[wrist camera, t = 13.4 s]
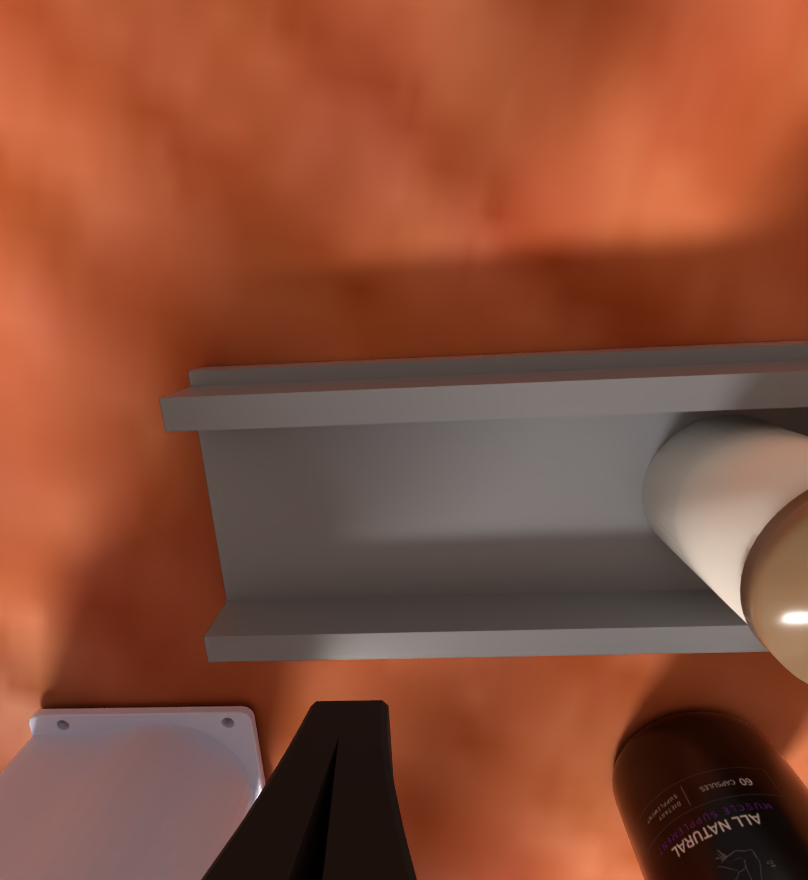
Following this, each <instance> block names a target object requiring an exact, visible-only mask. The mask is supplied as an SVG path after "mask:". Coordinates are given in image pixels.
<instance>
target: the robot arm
mask: <svg viewBox="0 0 808 880" xmlns="http://www.w3.org/2000/svg"><path fill="white" fill-rule="evenodd" d="M228 718H230V719H232V720H229V719H228ZM29 726H30V729H31V732H32V735H33V737H32V738H31V739H30V740H29V741H28V742H27V744H26V745H25V746H24V747H23V748H22V749H21V750H20V751H19V753H18V754H17V755H16V756H15V757H14V758H13V759H12V760H11V762H10V763H9V764H8V765H7V766H6V767H5V768H4V769H3V771H2V772H1V773H0V880H417V879H416V875H415V871H414V867H413V864H412V860H411V856H410V853H409V849H408V845H407V841H406V837H405V833H404V828H403V824H402V819H401V814H400V810H399V805H398V800H397V796H396V791H395V786H394V780H393V765H392V751H391V736H390V722H389V707H388V705H387V704H386V703H385V702H383V701H382V700H372V701H316V702H315V703H314V704H313V705H312V706H311V707H310V709H309V711H308V713H307V715H306V717H305V718H304V720H303V722H302V724H301V726H300V728H299V729H298V731H297V733H296V735H295V736H294V738H293V740H292V742H291V743H290V745H289V747H288V749H287V750H286V752H285V754H284V755H283V757H282V759H281V760H280V762H279V764H278V765H277V767H276V769H275V770H274V772H273V774H272V775H271V777H270V778H269V780H268V781H267V783H266V784H265V778H264V771H263V765H262V759H261V753H260V747H259V740H258V734H257V728H256V722H255V716H254V713H253V711H252V710H251V709H250V708H247V707H245V706H212V707H145V708H78V709H41V710H38V711H37V712H35V713H34V715H33V716H32V717H31V718H30V720H29Z"/></svg>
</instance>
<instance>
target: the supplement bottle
mask: <svg viewBox="0 0 808 880" xmlns="http://www.w3.org/2000/svg"><path fill="white" fill-rule="evenodd" d="M613 792H614V796H615V800H616V803H617V806H618V809H619V812H620V814H621V817H622V820H623V823H624V826H625V828H626V831H627V834H628V837H629V839H630V842H631V845H632V847H633V850H634V853H635V855H636V858H637V861H638V863H639V866H640V869H641V871H642V874H643V877H644V879H645V880H808V788H807V787H806V786H805V785H804V783H803V782H802V781H801V779H800V778H799V777H798V775H797V774H796V773H795V772H794V770H793V769H792V768H791V766H790V765H789V764H788V763H787V762H786V760H785V759H784V758H783V757H782V755H781V754H780V753H779V752H778V750H777V749H776V748H775V747H774V745H773V744H772V743H771V742H770V741H769V740H768V739H767V738H766V737H765V736H764V735H763V734H762V733H761V732H760V731H758V730H757V729H755V728H754V727H753V726H751V725H749V724H747V723H746V722H744V721H741V720H739V719H737V718H734V717H731V716H728V715H724V714H720V713H714V712H685V713H679V714H674V715H670V716H667V717H664V718H662V719H659V720H657V721H655V722H653V723H651V724H649V725H647V726H646V727H644V728H643V729H641V730H640V731H638V732H637V733H636V734H635V735H634V736H633V737H632V738H631V739H630V740H629V741H628V742H627V743H626V745H625V746H624V747H623V749H622V750H621V752H620V754H619V756H618V758H617V760H616V763H615V766H614V771H613Z"/></svg>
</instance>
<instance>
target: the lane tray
mask: <svg viewBox="0 0 808 880" xmlns="http://www.w3.org/2000/svg"><path fill="white" fill-rule="evenodd" d="M188 374H189V380H190V386H191V387H188V388H185V389H183V390H180V391H177V392H174V393H172V394H169V395H166V396H164V397H161V398H159V401H160V406H161V412H162V417H163V422H164V428H165V432H179V431H198V434H199V439H200V445H201V451H202V457H203V463H204V469H205V475H206V481H207V487H208V493H209V499H210V505H211V511H212V517H213V523H214V529H215V535H216V541H217V547H218V553H219V559H220V565H221V570H222V576H223V582H224V588H225V594H226V600H227V601H226V603H225V604H224V606H223V607H222V609H221V611H220V612H219V614H218V615H217V617H216V618H215V620H214V621H213V623H212V625H211V626H210V628H209V629H208V631H207V632H206V634H205V635H204V642H205V647H206V652H207V658H208V662H247V661H301V660H354V659H407V658H460V657H513V656H566V655H619V654H672V653H725V652H769V651H768V650H767V649H766V648H765V647H764V646H763V645H762V644H761V643H760V642H759V641H758V639H757V638H756V637H755V636H754V635H753V633H752V631H751V630H750V628H749V626H748V625H747V623H746V622H745V621H744V620H743V619H742V618H741V617H740V616H739V615H738V614H737V613H736V612H735V611H733V610H732V609H731V608H730V607H729V606H728V605H727V604H726V603H725V602H724V601H723V600H722V599H721V598H720V597H719V596H718V595H717V594H716V593H715V592H714V591H713V590H712V589H711V588H710V587H709V586H708V585H707V584H706V583H705V582H704V581H703V580H702V579H701V578H700V577H699V576H698V575H697V574H696V573H695V572H694V571H693V570H692V569H691V568H690V567H689V566H688V565H687V564H686V563H685V562H684V561H683V560H682V559H681V558H680V557H679V556H678V555H676V554H675V553H674V552H673V551H672V550H671V549H670V548H669V547H668V546H667V545H666V544H665V543H664V542H663V541H662V540H661V539H660V538H659V537H658V536H657V535H656V533H655V532H654V531H653V530H652V528H651V527H650V525H649V524H648V522H647V519H646V517H645V514H644V510H643V506H642V486H643V480H644V477H645V474H646V471H647V469H648V467H649V465H650V462H651V461H652V459H653V458H654V456H655V454H656V453H657V452H658V451H659V449H660V448H661V447H662V446H663V445H664V444H665V443H666V442H667V441H668V440H669V439H670V438H671V437H672V436H673V435H675V434H676V433H677V432H679V431H680V430H682V429H683V428H685V427H687V426H688V425H691V424H693V423H695V422H697V421H700V420H703V419H706V418H709V417H714V416H719V415H743V416H749V417H753V418H756V419H759V420H762V421H765V422H768V423H770V424H773V425H776V426H779V427H782V428H785V429H788V430H791V431H794V432H796V433H799V434H802V435H805V436H808V340H798V341H775V342H753V343H730V344H708V345H686V346H663V347H641V348H618V349H596V350H574V351H551V352H529V353H507V354H484V355H462V356H439V357H417V358H395V359H372V360H350V361H327V362H305V363H283V364H260V365H238V366H216V367H200V368H197V369H193V370H190V371H188Z"/></svg>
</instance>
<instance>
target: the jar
mask: <svg viewBox="0 0 808 880" xmlns="http://www.w3.org/2000/svg"><path fill="white" fill-rule="evenodd" d="M642 506H643V510H644V514H645V517H646V519H647V522H648V524H649V525H650V527H651V528H652V530H653V531H654V532H655V533H656V535H657V536H658V537H659V538H660V539H661V540H662V541H663V542H664V543H665V544H666V545H667V546H668V547H669V548H670V549H671V550H672V551H673V552H674V553H675V554H676V555H678V556H679V557H680V558H681V559H682V560H683V561H684V562H685V563H686V564H687V565H688V566H689V567H690V568H691V569H692V570H693V571H694V572H695V573H696V574H697V575H698V576H699V577H700V578H701V579H702V580H703V581H704V582H705V583H706V584H707V585H708V586H709V587H710V588H711V589H712V590H713V591H714V592H715V593H716V594H717V595H718V596H719V597H720V598H721V599H722V600H723V601H724V602H725V603H726V604H727V605H728V606H729V607H730V608H731V609H732V610H733V611H735V612H736V613H737V614H738V615H739V616H740V617H741V618H742V619H743V620H744V621H745V622H746V623H747V625H748V626H749V628H750V630H751V631H752V633H753V635H754V636H755V637H756V638H757V639H758V641H759V642H760V643H761V644H762V645H763V646H764V647H765V648H766V649H767V650H768V651H769V652H770V653H771V654H772V655H773V656H774V657H775V658H776V659H777V660H778V661H779V662H780V663H781V664H782V665H783V666H784V667H785V668H786V669H787V670H788V671H790V672H791V673H792V674H793V675H794V676H795V677H797V678H799V679H800V680H802V681H803V682H805V683H807V684H808V436H805V435H802V434H799V433H796V432H794V431H791V430H788V429H785V428H782V427H779V426H776V425H773V424H770V423H768V422H765V421H762V420H759V419H756V418H753V417H749V416H743V415H719V416H714V417H709V418H706V419H703V420H700V421H697V422H695V423H693V424H691V425H688V426H687V427H685V428H683V429H682V430H680V431H679V432H677V433H676V434H675V435H673V436H672V437H671V438H670V439H669V440H668V441H667V442H666V443H665V444H664V445H663V446H662V447H661V448H660V449H659V451H658V452H657V453H656V454H655V456H654V458H653V459H652V461H651V462H650V465H649V467H648V469H647V471H646V474H645V477H644V480H643V486H642Z"/></svg>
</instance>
